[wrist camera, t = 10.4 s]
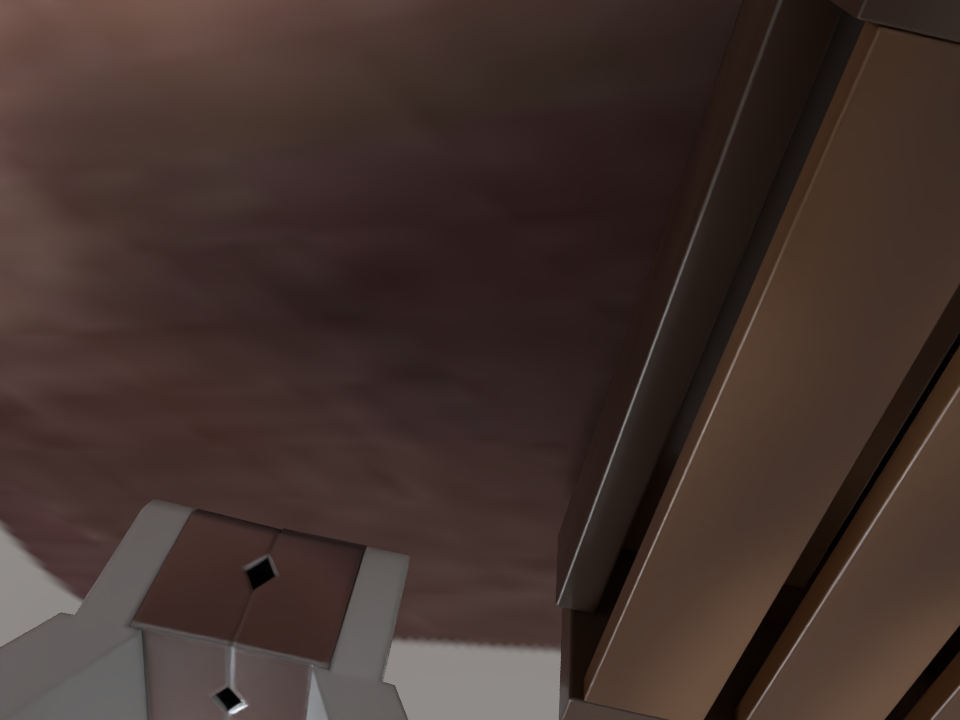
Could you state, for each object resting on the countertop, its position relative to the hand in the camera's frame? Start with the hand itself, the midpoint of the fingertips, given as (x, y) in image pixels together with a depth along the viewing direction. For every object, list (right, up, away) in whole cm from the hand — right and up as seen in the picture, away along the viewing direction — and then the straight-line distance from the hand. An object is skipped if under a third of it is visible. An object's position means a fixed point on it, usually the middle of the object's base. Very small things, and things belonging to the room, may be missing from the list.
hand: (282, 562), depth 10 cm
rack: (+11, +3, +10) cm, 15 cm away
